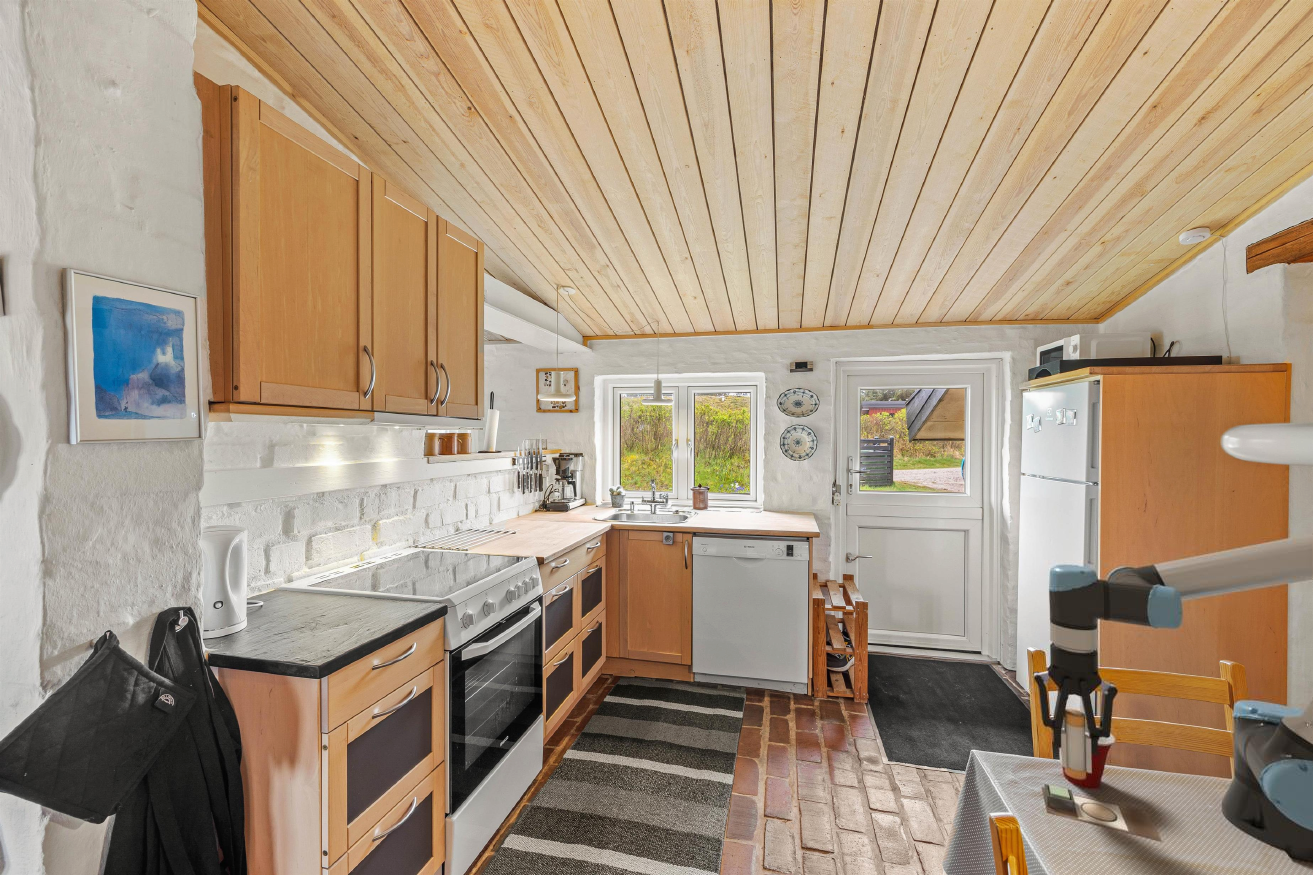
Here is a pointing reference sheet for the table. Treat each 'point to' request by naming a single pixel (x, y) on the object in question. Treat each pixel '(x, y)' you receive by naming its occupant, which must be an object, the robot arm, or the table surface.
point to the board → (1101, 814)
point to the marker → (1075, 743)
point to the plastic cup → (1093, 763)
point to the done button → (1059, 792)
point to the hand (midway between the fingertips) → (1075, 765)
